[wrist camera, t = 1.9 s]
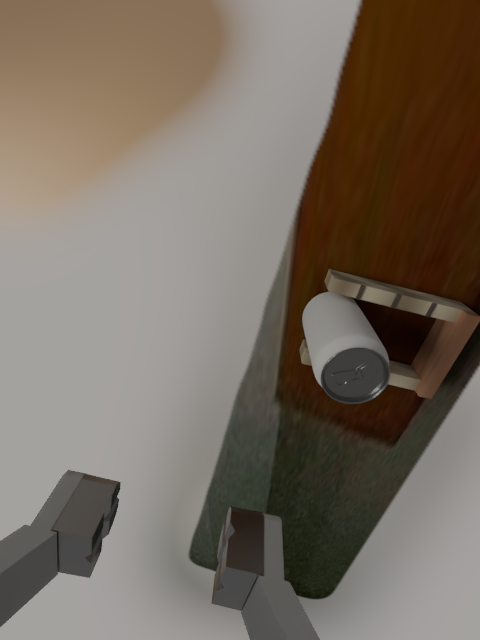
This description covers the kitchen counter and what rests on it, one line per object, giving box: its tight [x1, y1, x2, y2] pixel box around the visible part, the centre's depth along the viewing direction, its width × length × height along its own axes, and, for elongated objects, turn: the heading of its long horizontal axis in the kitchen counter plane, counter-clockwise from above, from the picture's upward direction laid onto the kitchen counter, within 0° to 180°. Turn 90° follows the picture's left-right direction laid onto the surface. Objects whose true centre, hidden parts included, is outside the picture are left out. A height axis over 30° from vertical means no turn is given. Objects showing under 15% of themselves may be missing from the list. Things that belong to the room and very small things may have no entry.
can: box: [302, 292, 390, 404], centre depth 33 cm, size 6×6×12 cm
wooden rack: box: [300, 269, 480, 399], centre depth 37 cm, size 15×10×4 cm
